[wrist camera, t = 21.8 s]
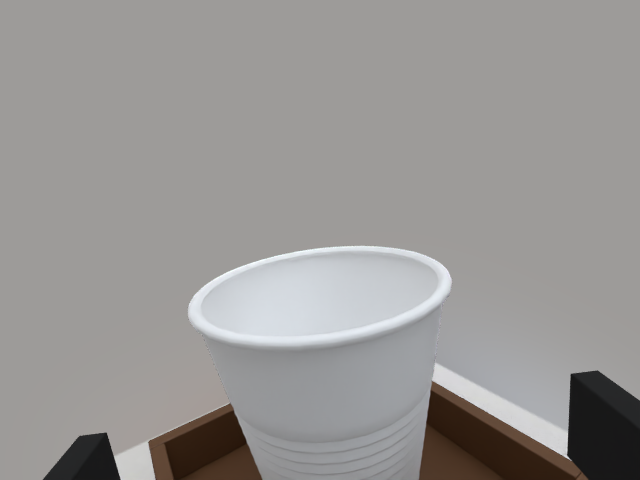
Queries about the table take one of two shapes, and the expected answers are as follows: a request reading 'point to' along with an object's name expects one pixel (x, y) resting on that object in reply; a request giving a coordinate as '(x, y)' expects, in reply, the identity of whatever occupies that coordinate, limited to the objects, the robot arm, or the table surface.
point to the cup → (328, 358)
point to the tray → (437, 455)
